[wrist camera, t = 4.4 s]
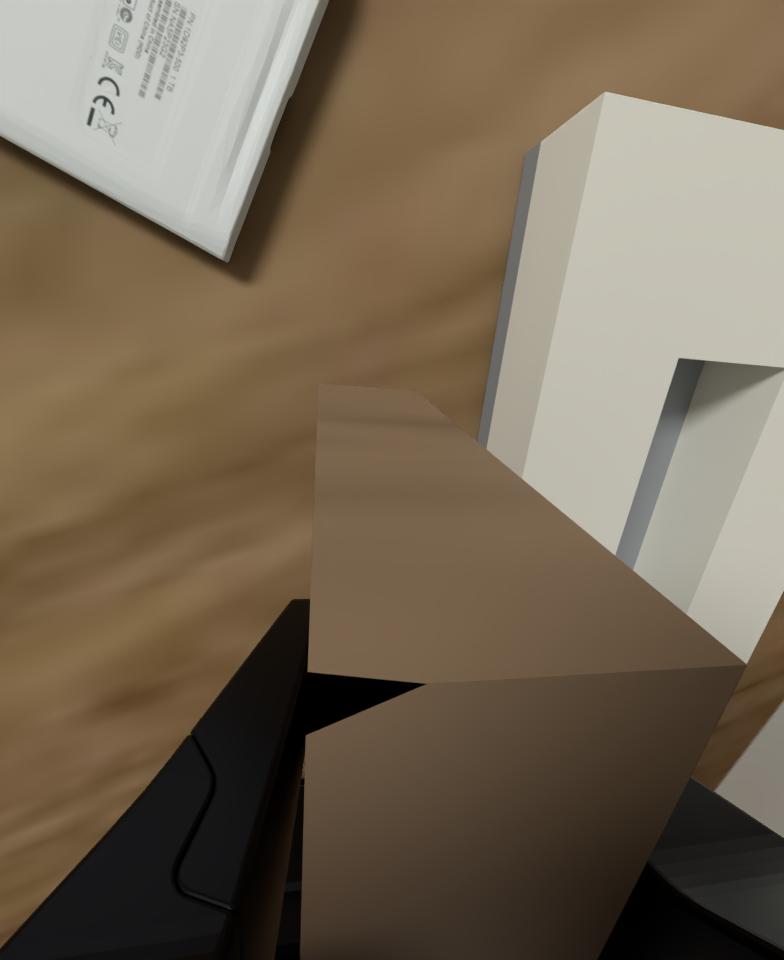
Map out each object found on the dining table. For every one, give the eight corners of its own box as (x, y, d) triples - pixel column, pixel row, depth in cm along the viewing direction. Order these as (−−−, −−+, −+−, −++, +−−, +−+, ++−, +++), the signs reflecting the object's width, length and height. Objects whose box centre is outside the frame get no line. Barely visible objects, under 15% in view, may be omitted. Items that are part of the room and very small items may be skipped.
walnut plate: (387, 641, 13) (492, 1165, 5) (310, 644, 13) (293, 1222, 5) (414, 390, 11) (747, 665, 2) (318, 383, 10) (306, 691, 2)
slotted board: (646, 672, 23) (708, 740, 19) (436, 685, 21) (460, 764, 17) (830, 208, 15) (992, 175, 12) (525, 154, 13) (604, 91, 9)
